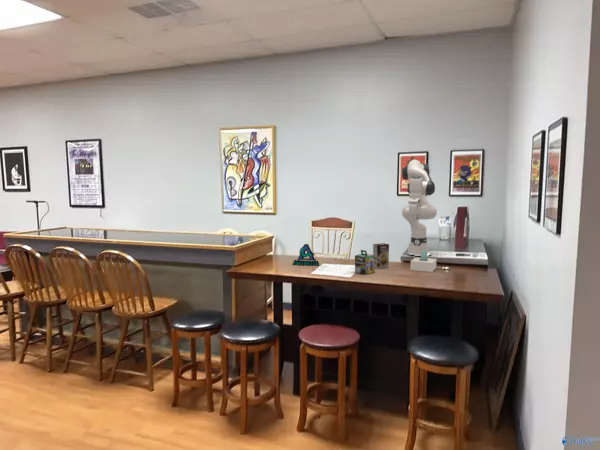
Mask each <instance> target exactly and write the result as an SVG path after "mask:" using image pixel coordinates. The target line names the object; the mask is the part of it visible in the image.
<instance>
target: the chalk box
mask: <svg viewBox="0 0 600 450" xmlns="http://www.w3.org/2000/svg"><path fill="white" fill-rule="evenodd" d="M367 252H368V251H367V250H365V249H364V250H363V249H360V254H357V255H354V273H355V272H356V273H357V274H359V275H360V274H361V275H364V274H365V275H370V274H373V273H375V268H374V255H373V254H370V253H369V254H368V253H367ZM356 273H355V274H356ZM365 275H364V276H365Z"/></svg>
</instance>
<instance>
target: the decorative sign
mask: <svg viewBox="0 0 600 450" xmlns="http://www.w3.org/2000/svg"><path fill="white" fill-rule="evenodd" d="M297 257H298V258H297V259H294V260H293V262H292V266H311V267H313V266H314V267H315V266H316V267H319V266H320V263H319V260H317V259H316V258H315V254H314V252H313V251H312V250H311V247H310V245H309V243H304V244H303V246H302V247H301V248H300V249H299V255H298V256H297Z"/></svg>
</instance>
